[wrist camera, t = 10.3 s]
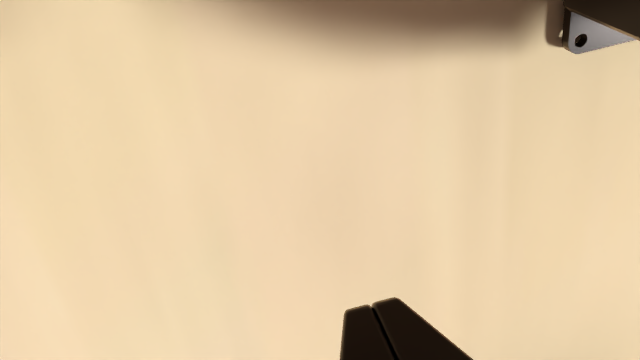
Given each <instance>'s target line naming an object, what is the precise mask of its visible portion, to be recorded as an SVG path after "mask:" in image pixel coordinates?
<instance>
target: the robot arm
mask: <svg viewBox="0 0 640 360" xmlns="http://www.w3.org/2000/svg"><path fill="white" fill-rule="evenodd" d="M563 4H564V6H565V12H564V24H563V35H562V45H563V47H564V48H565V49H566V50H568V51H570V52H572V53H574V54H580V53H584V52H588V51H592V50H596V49H601V48H605V47H609V46H613V45H617V44H621V43H625V42H629V41H633V40H639V41H640V0H564V1H563ZM580 34H581V37H580V40H579V41H578V42H577V43H575V39H576V38H577V37H578V35H580ZM340 360H473V359H472V358H471V357H469V356H468V355H467V354H466V353H465V352H463V351H462V350H461V349H460V348H458V347H457V346H456V345H455V344H454V343H452V342H451V341H450V340H449V339H448V338H446V337H445V336H444V335H443V334H441V333H440V332H439V331H438V330H437V329H435V328H434V327H433V326H432V325H430V324H429V323H428V322H427V321H426V320H424V319H423V318H422V317H421V316H420V315H418V314H417V313H416V312H415V311H413V310H412V309H411V308H410V307H409V306H407V305H406V304H405V303H404V302H402V301H401V300H400V299H398V298H395V297H394V298H389V299H385V300H382V301H378V302H375V303H373V304H372V307H371V306H370V305H363V306H359V307H355V308H351V309H348V310H346V311H345V313H344V320H343V331H342V341H341V352H340Z"/></svg>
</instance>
